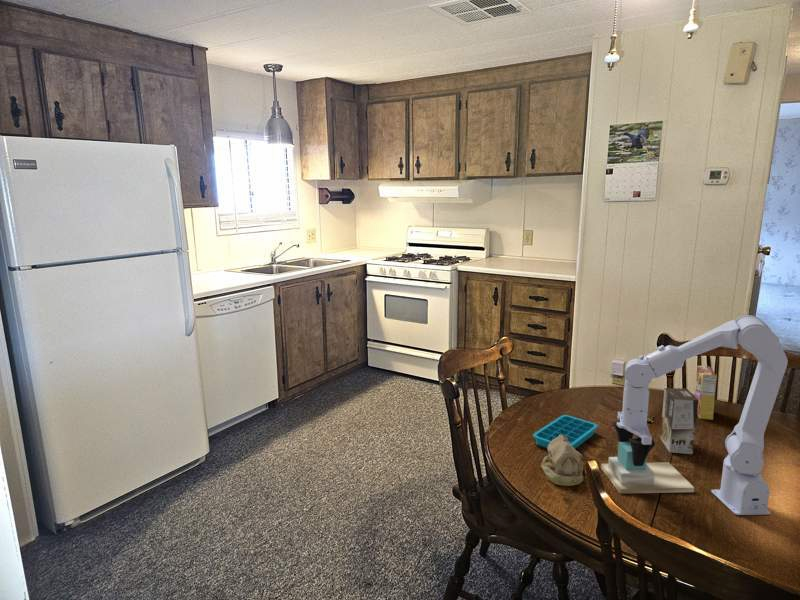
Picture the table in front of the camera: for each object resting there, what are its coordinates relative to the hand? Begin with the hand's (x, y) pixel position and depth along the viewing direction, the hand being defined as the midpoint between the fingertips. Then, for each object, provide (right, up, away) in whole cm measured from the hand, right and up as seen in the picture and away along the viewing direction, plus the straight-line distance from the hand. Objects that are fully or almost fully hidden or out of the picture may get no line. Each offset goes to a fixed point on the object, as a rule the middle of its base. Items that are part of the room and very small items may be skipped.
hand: (631, 457), depth 128 cm
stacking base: (+4, -6, +1) cm, 7 cm away
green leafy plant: (+18, +1, +37) cm, 41 cm away
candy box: (+41, +2, +38) cm, 56 cm away
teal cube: (0, -2, 0) cm, 2 cm away
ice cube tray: (-9, -2, +24) cm, 26 cm away
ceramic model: (-15, -6, +6) cm, 17 cm away
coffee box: (+21, -3, +18) cm, 28 cm away
